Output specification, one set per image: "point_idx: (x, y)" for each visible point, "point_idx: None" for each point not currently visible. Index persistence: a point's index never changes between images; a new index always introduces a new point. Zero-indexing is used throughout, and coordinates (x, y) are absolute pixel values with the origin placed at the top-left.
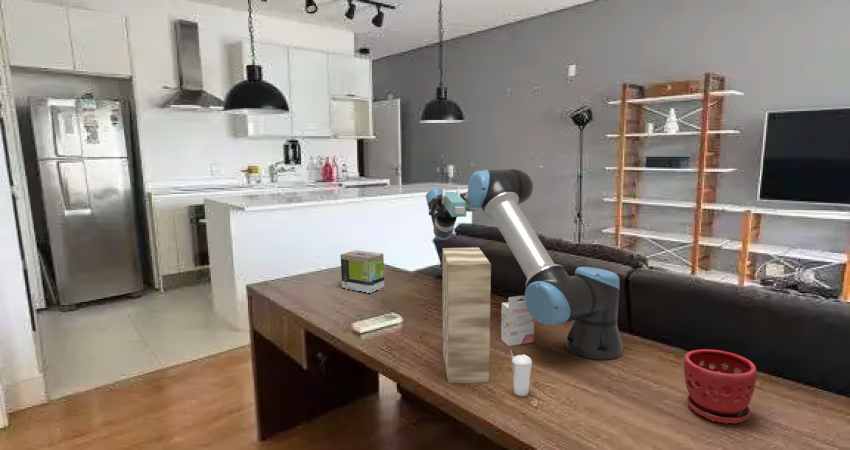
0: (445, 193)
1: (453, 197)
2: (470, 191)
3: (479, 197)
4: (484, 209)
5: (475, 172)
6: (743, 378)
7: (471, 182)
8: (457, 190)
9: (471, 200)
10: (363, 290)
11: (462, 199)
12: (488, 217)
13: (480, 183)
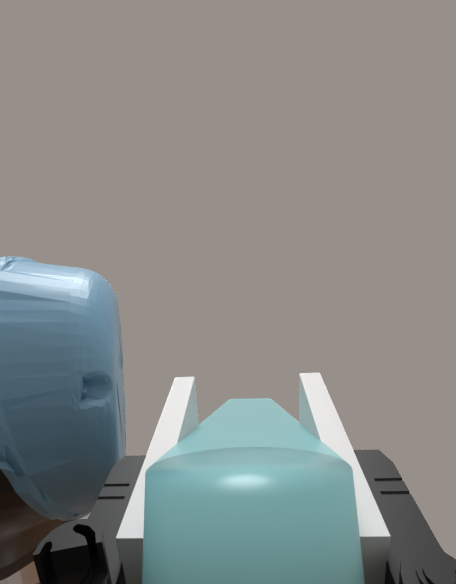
0: (303, 438)
1: (253, 408)
2: (118, 397)
3: (124, 415)
4: (10, 541)
5: (103, 277)
6: None
7: (116, 335)
8: (195, 393)
9: (121, 457)
10: None
11: (226, 403)
12: (31, 564)
13: (121, 346)
